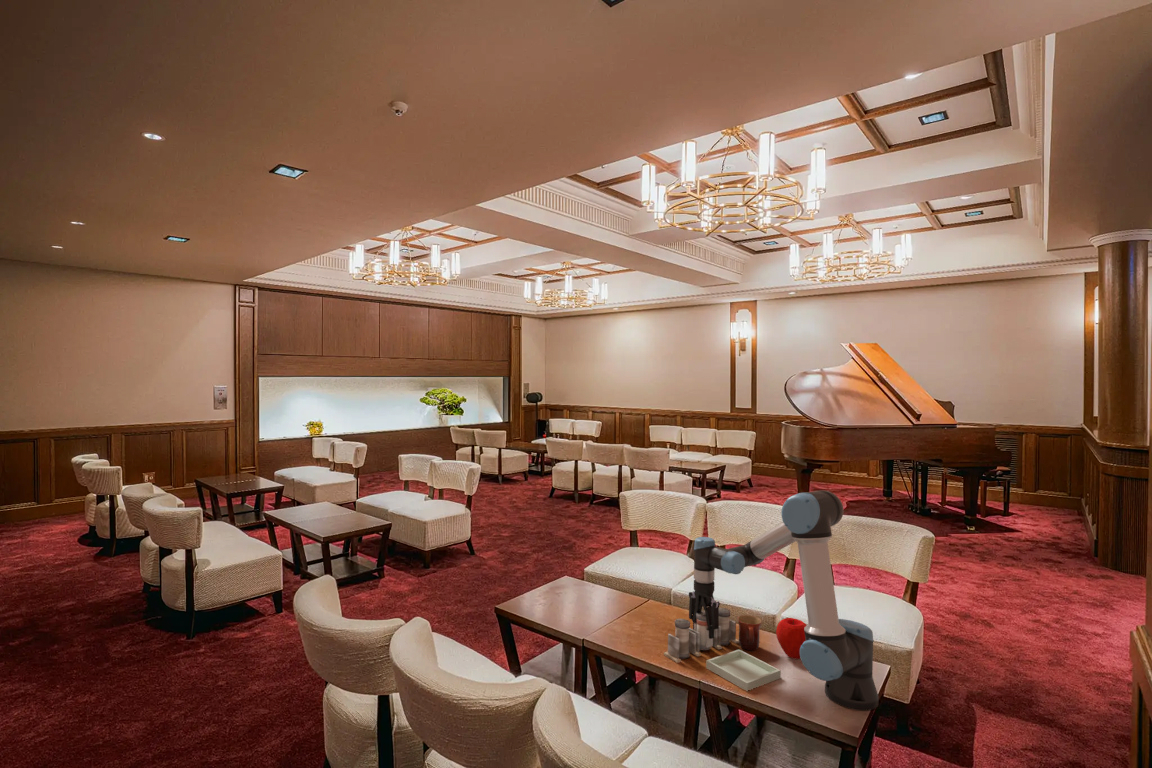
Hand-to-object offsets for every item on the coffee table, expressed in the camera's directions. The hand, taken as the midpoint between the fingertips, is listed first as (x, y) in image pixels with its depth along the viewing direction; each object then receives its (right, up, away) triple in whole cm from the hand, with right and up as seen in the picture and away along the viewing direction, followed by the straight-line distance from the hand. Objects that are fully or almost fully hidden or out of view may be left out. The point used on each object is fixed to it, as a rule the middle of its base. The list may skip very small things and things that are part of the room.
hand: (703, 643), depth 208 cm
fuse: (0, -1, 0) cm, 1 cm away
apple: (+31, -3, -4) cm, 32 cm away
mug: (+17, -3, +1) cm, 18 cm away
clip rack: (0, -2, 0) cm, 2 cm away
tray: (+9, -2, -17) cm, 20 cm away
